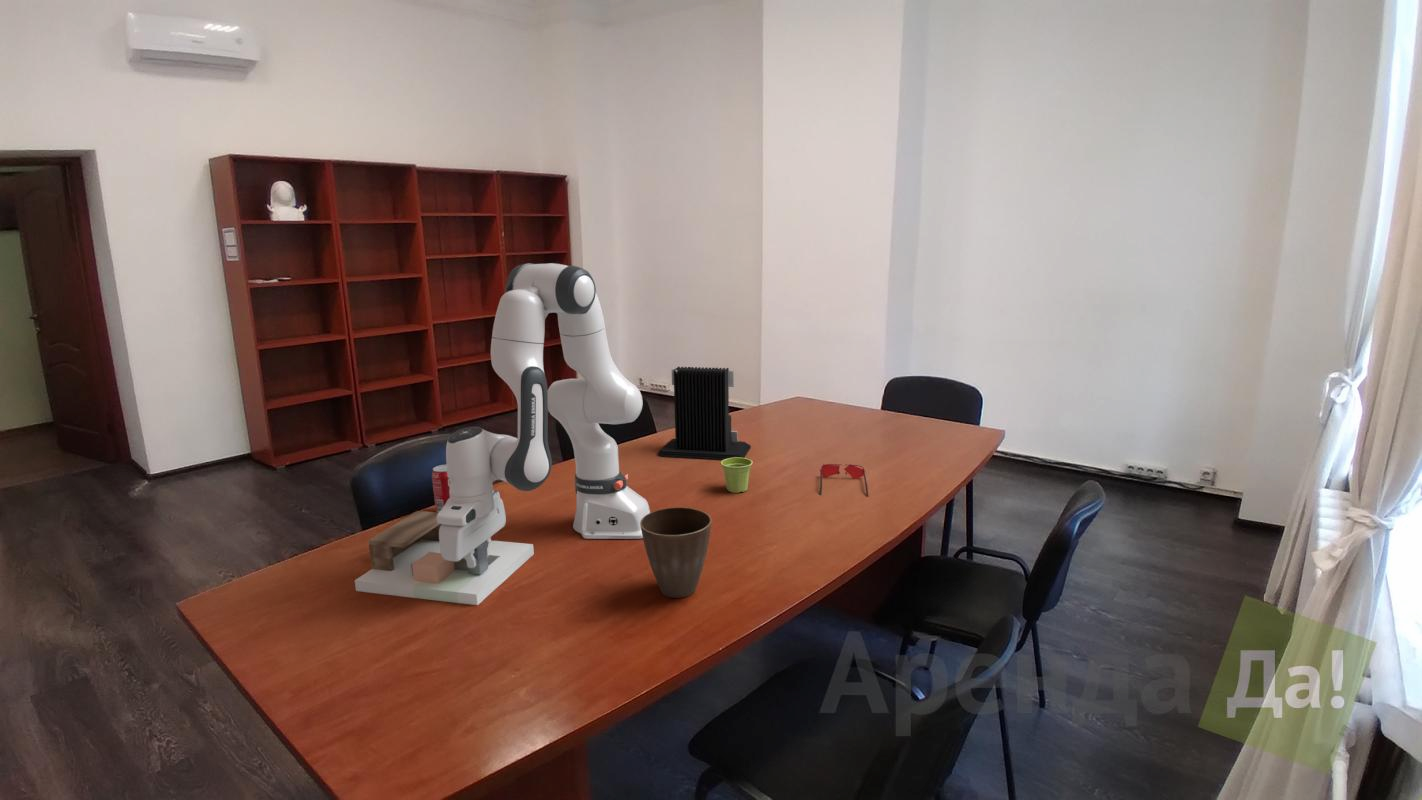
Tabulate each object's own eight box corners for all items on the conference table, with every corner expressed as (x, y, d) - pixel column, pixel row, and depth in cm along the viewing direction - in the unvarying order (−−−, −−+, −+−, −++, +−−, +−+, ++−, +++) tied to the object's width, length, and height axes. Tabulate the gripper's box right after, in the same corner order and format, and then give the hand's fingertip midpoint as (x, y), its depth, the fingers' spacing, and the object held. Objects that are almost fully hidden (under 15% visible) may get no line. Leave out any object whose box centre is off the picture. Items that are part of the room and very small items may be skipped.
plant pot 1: (687, 614, 144) (685, 540, 141) (628, 596, 152) (625, 525, 148) (725, 584, 157) (724, 515, 153) (669, 568, 164) (667, 502, 161)
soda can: (454, 517, 196) (449, 472, 193) (430, 515, 198) (425, 471, 195) (468, 508, 203) (463, 464, 200) (445, 506, 204) (440, 462, 201)
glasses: (864, 479, 223) (865, 463, 222) (868, 498, 207) (869, 481, 206) (819, 477, 225) (819, 462, 224) (819, 496, 209) (819, 479, 208)
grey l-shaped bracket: (488, 568, 159) (484, 535, 158) (470, 582, 153) (466, 547, 151) (432, 563, 163) (427, 530, 162) (412, 577, 157) (407, 543, 155)
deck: (533, 553, 173) (533, 544, 172) (477, 605, 149) (476, 594, 149) (426, 543, 180) (425, 534, 179) (356, 590, 156) (354, 580, 156)
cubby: (452, 540, 175) (449, 513, 174) (406, 572, 159) (403, 543, 157) (420, 537, 177) (417, 510, 176) (371, 569, 161) (368, 540, 159)
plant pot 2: (716, 493, 211) (716, 465, 210) (727, 482, 220) (727, 455, 218) (746, 497, 208) (746, 468, 206) (756, 486, 216) (756, 458, 215)
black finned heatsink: (752, 446, 258) (751, 363, 251) (742, 462, 240) (741, 374, 233) (670, 441, 265) (668, 361, 258) (655, 457, 247) (652, 371, 240)
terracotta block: (454, 571, 159) (453, 554, 158) (438, 583, 154) (436, 566, 153) (431, 568, 161) (429, 551, 160) (414, 580, 155) (412, 563, 154)
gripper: (485, 485, 165) (490, 541, 168) (431, 519, 146) (438, 581, 149) (510, 487, 164) (515, 543, 167) (458, 522, 144) (465, 584, 148)
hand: (478, 561), depth 158 cm, fingers closed on grey l-shaped bracket, 3 cm apart
